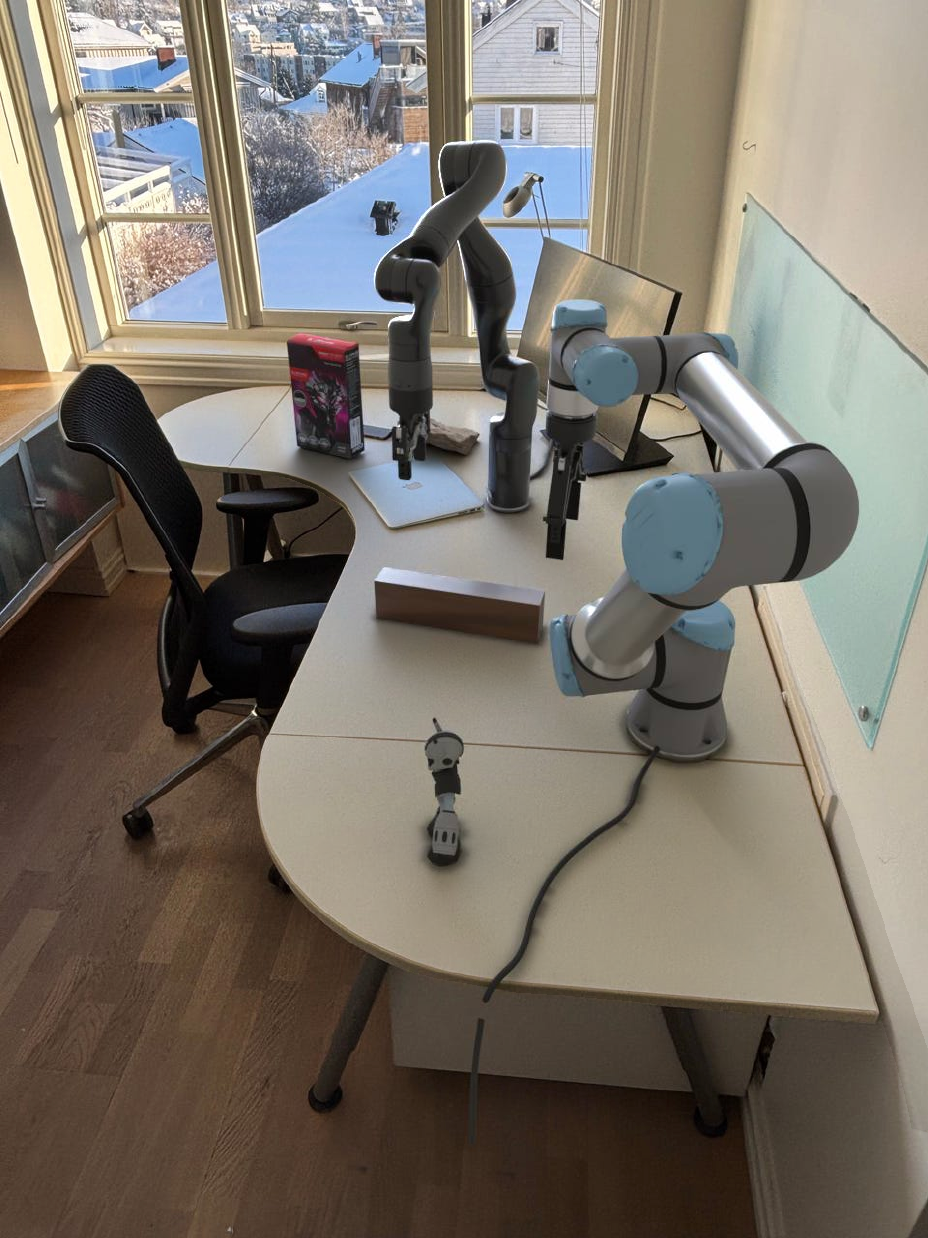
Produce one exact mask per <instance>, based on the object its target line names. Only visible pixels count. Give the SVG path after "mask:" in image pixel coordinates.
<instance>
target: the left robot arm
mask: <svg viewBox="0 0 928 1238" xmlns="http://www.w3.org/2000/svg"><path fill="white" fill-rule="evenodd" d="M438 172H439V179H440V184H441V188H442V192H443V196H444V198H442V199H441V200H439V201H438V202H436V203H435V204H434V205H432V206H431V207H430V208H429V209H427V210H426V211H425V213H423V215H422V216H421V217H420V218H419V220H418V222H417V223H416V224H415V226H414V227H413V230H412V231H411V233H410V235H409V236H408V237H406V238H405V239H403V240H402V241H400V242H399V243H398V244H396V245H394V247H392V248H391V249H390V250H389V251H388V252H387V253H386V254H384V255H383V257H382V258H381V259H380V260H379V262H378V264H377V266H376V268H375V272H374V277H373V283H374V288H375V291H376V293H377V295H378V296H379V297H380V299H382V300H383V301H385V302H389V303H394V304H404V305H412V306H413V312H412V314H410V315H402V316H398V317H394V318H392V319H390V321H389V323H388V327H387V346H388V347H387V348H388V363H387V380H388V382H387V384H388V385H387V386H388V406H389V409H390V410H391V411H392V412H394V413H396V414H397V415H398V416H399V418H398V420H397V423H396V426H394V425H393V426H392V428H391V447H392V448H391V449H392V450H391V452H392V453H391V456H392V457H391V458H392V459H391V460H392V461H397V470H398V471H397V473H398V474H397V475H398V476H397V477H398V480H401V481H410V480H411V479H412V475H413V474H412V457H413V460H414V461H417V462H424V461H426V460H427V444H426V441H425V440H427V438H428V435H427V433H430V431H431V429H430V418H431V410H432V409H433V407H434V395H433V394H434V393H433V392H434V389H433V388H434V385H433V383H434V380H433V379H434V378H433V376H434V375H433V362H432V353H431V352H432V346H431V345H432V344H431V343H432V342H431V341H432V340H431V337H432V335H431V333H432V325H433V319H434V316H435V315H434V314H435V310H436V306H437V303H438V300H439V296H440V292H441V287H442V276H441V271H440V269H441V268H442V267H443V265H444V264H445V263H446V261H447V260H448V258H449V256H450V255H451V253H452V251H453V250H454V247H455V246H456V244H458V249H459V253H460V258H461V264H462V268H463V273H464V274H463V275H464V280H465V285H466V290H467V294H468V299H469V303H470V306H471V311H472V316H473V321H474V322H473V323H474V326H475V332H476V337H477V345H478V354H479V363H480V364H479V365H480V373H481V374H480V375H481V380H482V383H483V387H484V389H485V390H486V392H487V393H488V394H489V396H492V397H494V398H496V399H499V400H501V401H503V402H505V409H504V411H503V412H498V413H496V414H494V415H493V416H492V417H490V420H489V424H488V434H489V435H488V466H487V467H488V468H487V469H488V471H487V477H488V478H487V486H486V487H485V492H486V494H487V498H486V504H487V506H488V507H489V508H490V509H492V510H494V511H496V512H500V513H505V514H506V513H508V514H509V513H518V512H522V511H524V510H526V509H527V508H528V507H529V505H530V497H529V496H530V485H531V480H533V479H536V478H537V477H539V475H541V474H542V473H543V472H544V471H545V470H546V469H547V467H548V464H549V461H550V457H551V454H552V450H553V446H554V442H555V441H554V440H552V439H550V438H549V439H550V440H549V444H548V448H547V452H546V455H545V458H544V462H543V465H542V466H541V467H540V468H539V469H538V470H536V472H535V473H533V474H532V475H531V463H532V462H531V460H532V446H533V445H532V444H533V442H532V441H533V427H534V424H535V421H536V418H537V415H538V407H539V406H538V405H539V404H538V403H539V397H540V387H541V386H540V384H541V378H540V376H541V375H540V371H539V368H538V367H537V364H535V363H534V362H532V361H530V360H527V359H525V358H522V357H519V356H516V355H513V353H512V352H511V349H510V346H509V345H510V344H509V342H508V333H507V327H508V323H509V320H510V318H511V315H512V313H513V311H514V307H515V304H516V301H517V287H516V281H515V277H514V272H513V271H514V270H513V269H514V268H513V264H512V261H511V259H510V257H509V255H508V254H507V252H506V251H505V249H504V248H503V246H502V245H501V244H500V243H499V242H498V240H497V239H496V238H495V237H494V235H492V233H491V232H490V231H489V229H487V227H486V225H485V224H484V223H483V221H482V219H481V218H480V215H481V214H482V212H483V211H485V210H486V208H487V207H488V206H489V205H490V204H492V202H493V201H494V200H495V199H496V198H497V196H498V195H499V194H500V193H501V192H502V189H503V188H504V186H505V183H506V180H507V173H508V167H507V158H506V154H505V150H504V149H503V147H502V145H501V144H499V143H498V142H497V141H494V140H490V139H482V140H481V139H479V140H466V141H453V142H448V143H446V144H445V145H444V146H442V149H441V150H440V153H439V158H438Z"/></svg>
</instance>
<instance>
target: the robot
mask: <svg viewBox="0 0 928 1238" xmlns="http://www.w3.org/2000/svg"><path fill="white" fill-rule="evenodd" d="M432 723H433V725H434V728H435V731H436V733H434V734H432V735H431V736H430V737H429V738H428V739H426V742H425V745H424V747H423V749H424V752H425V753H424V755H425V757H426V758H427V769H428V770H429V771H430V772H431V776H432V779H433V780H434V782H435V783H434V797H435V798H436V800H437V803H438V805H439V806H438V808H437V810H436V811H435V814H434V817H433V819H432V820H431V821H430V822H429V823H428V825H427V827H426V830H427V833H428V835H429V837H430V838H432V841H431V846H430V847H429V850H428V852H427V858H428V860H430V861H431V862H432V864H434V865H437V866H441V867H442V866H448V865H450V864H453V863H455V862H457V861H459V860H460V856H461V854H462V846H461V841H460V837H459V836H460V833H461V830H460V820H459V815H458V813H456V811H455V807H454V805H455V803H456V795H457V796H459V795H462V782H461V781H462V780H461V776H460V774H459V769H458V768H459V767H458V765H459V764H460V758H462V755H463V754H464V749H465V746H464V745H465V744H464V741H463V739H462V738H461V737H460V736H459V734H457V733H455V732H453V731H451V730H443V729H442V727H441V725H440V723H439V721H438V720H437V718H436V717H433V718H432Z"/></svg>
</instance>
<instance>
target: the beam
mask: <svg viewBox="0 0 928 1238" xmlns="http://www.w3.org/2000/svg"><path fill="white" fill-rule="evenodd" d="M374 597H375V599H374V600H375V617H376V619H381V620H387V621H393V622H398V623H399V622H400V623H405V624H413V625H418V626H424V627H430V628H438V629H442V630H443V629H444V630H449V631H455V632H462V633H469V634H475V635H480V636H487V637H494V638H500V639H505V640H506V639H507V640H511V641H518V642H525V643H530V644H539V640H540V637H541V633H542V631H543V629H544V614H545V602H546V590H541V589H535V588H529V587H522V586H515V585H510V584H509V585H508V584H501V583H494V582H488V581H481V580H475V579H474V580H473V579H468V578H462V577H461V578H460V577H455V576H454V577H453V576H447V575H440V574H433V573H428V572H422V571H421V572H419V571H413V570H407V569H400V568H392V567H385V566H383V567H382V568H381V570H380V572H379V573H378V575H377V576H376V577H375V579H374Z"/></svg>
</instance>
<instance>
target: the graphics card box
mask: <svg viewBox="0 0 928 1238" xmlns="http://www.w3.org/2000/svg"><path fill="white" fill-rule="evenodd" d="M286 347H287V359H288V369H289V378H290V389H291V397H292V407H293V418H294V419H293V420H294V428H295V438H296V439H295V441H296V447H299V448H303V449H307V450H310V451H315V452H320V453H323V454H324V453H325V454H329V455H332V456H336V457H341V458H346V459H353V458H354V457H356V456H358V455H360V454H362V453H363V452H365V447H366V446H365V430H364V415H363V414H364V413H363V398H362V381H361V380H362V379H361V363H360V344H359V342H351V341H346V340H342V339H341V340H340V339H336V338H330V337H325V336H319V335H314V334H308V333H304V332H300V333H298V334H295V335H293V336H292V337H290V338H289V339H288V340H287V341H286Z"/></svg>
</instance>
